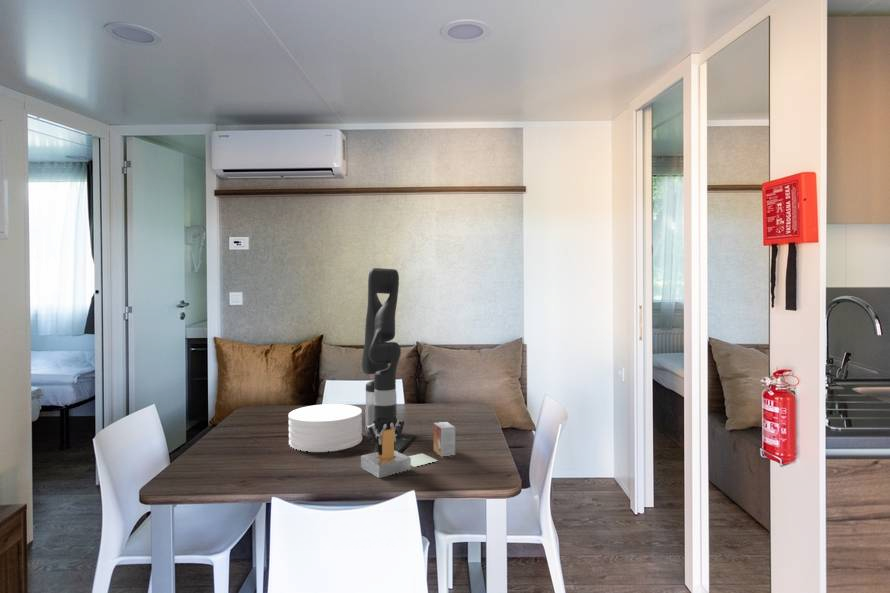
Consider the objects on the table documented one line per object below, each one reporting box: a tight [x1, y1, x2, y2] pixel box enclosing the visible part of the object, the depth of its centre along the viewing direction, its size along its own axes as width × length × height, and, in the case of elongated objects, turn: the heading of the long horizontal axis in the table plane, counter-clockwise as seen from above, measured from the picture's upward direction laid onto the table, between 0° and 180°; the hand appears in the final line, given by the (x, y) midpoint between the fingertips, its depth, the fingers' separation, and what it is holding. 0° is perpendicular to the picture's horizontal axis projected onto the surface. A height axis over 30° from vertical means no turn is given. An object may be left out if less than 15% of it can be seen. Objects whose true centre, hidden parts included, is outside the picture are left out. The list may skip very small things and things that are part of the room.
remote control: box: [395, 434, 418, 453], centre depth 205 cm, size 5×24×1 cm, turn 165°
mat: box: [407, 452, 439, 468], centre depth 188 cm, size 10×10×1 cm
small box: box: [433, 421, 456, 458], centre depth 195 cm, size 8×6×10 cm
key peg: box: [377, 428, 395, 461], centre depth 180 cm, size 4×4×12 cm
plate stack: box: [288, 403, 363, 453], centre depth 212 cm, size 28×28×12 cm
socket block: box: [360, 450, 412, 479], centre depth 180 cm, size 12×12×4 cm
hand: (385, 453), depth 180 cm, fingers closed on key peg, 4 cm apart
